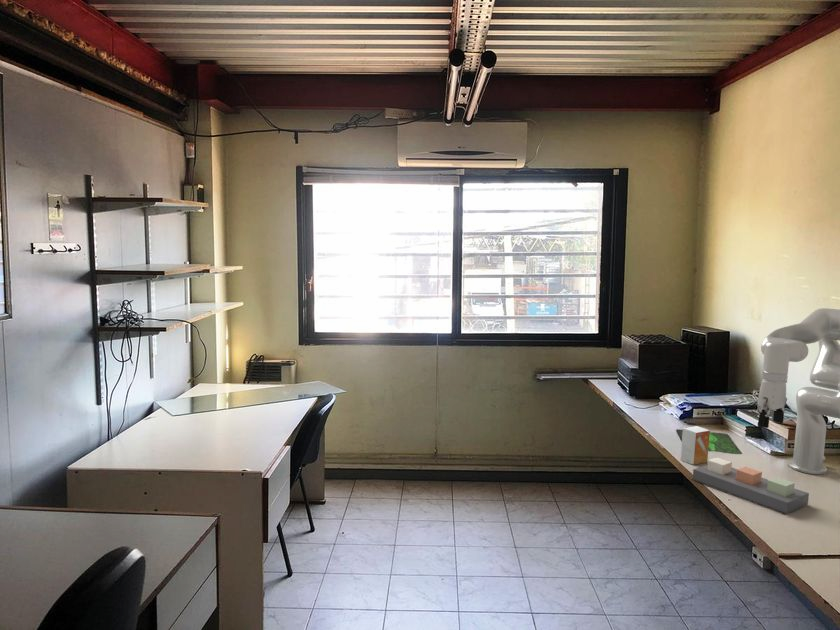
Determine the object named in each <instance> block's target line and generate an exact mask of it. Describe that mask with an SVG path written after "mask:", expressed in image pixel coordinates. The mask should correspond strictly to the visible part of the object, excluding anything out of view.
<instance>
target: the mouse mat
mask: <svg viewBox="0 0 840 630" xmlns="http://www.w3.org/2000/svg"><path fill="white" fill-rule="evenodd" d="M675 432H676V434H677V436H678V437H679V440H680V441H681V442H682V434H683V429H679V428H677V429H675ZM708 452H716V453H722V454H730V455H742V454H743V453H742V451H741V450H740V449H739V447H738V446H737V445H736V443H735V442H734V441H733V439H732V438H731V436H730V435H729V434H728V433H723V432H714V431H710V436H709V448H708Z"/></svg>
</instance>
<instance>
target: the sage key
mask: <svg viewBox="0 0 840 630" xmlns="http://www.w3.org/2000/svg"><path fill="white" fill-rule="evenodd" d="M794 488H795V482H793V481H790V480H788V479H784V478H782V477H778V476H775V477H773V478H770V479H768V487H767V491H769V492H772V493H775V494H778V495H781V496H784V497H787V496H790V495H792V494H794Z"/></svg>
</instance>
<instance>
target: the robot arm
mask: <svg viewBox="0 0 840 630" xmlns="http://www.w3.org/2000/svg"><path fill="white" fill-rule="evenodd" d="M839 341H840V309H836V308H828V307H826V308H818V309H815V310H814V311H813V312H811V313H810V314H809V315H808V316H806V318H804V319H803V320H802V321H801V322H799V323H795V324H792V325H787V326H783V327H780V328H777V329H774V330H772V332H770V333H769V334H767V336H766V337H765V338H764V339H763V340H762V342H761V346H760V352H761V354H762V355H763V365H762V374H761V384H760V387H759V392H758V400H757V412H758V426H759V427H762V428H765V429H768V428H769V426H770V425H769V424H770V412H771V411H773V416H772V422H774V423H779V424H784V417H785V411H786V406H787V400H788V398H787V383H788V377H789V376H788V375H789V365H790V362H791V363H798V362H802V361H804V360H805V359H806V358H807V357H808V355H809V347H808V345H809V344H815V343H817V342H818V347H819V349H818V350H819V351H818V353H817V357H816V359H815V362H814V363H813V365H812V368H811V371H810V375H809V381H810V383H811V384H812V385H813V386H804V387H801V388H800V389H798V391H797V392H796V395H795V402H796V403H795V405H796V424H795V425H796V427H795V436H794V445H793V446H794V448H793V455H792V459H790V460H788V462H787V465H788V467H789V468H791V469H793V470H795V471H797V472H801V473H805V474H810V475H824V474H827V472H828V468H827V467H826V466H824V464H823V463H824V461H825V460H826V456H825V455H824V454H825V447H826V437H827V436H826V435H827V423H826V420H825V418H824V417H823V416H825V417H829V418H834V419H840V343H839ZM814 386H816V387H814ZM833 390H834V391H833Z"/></svg>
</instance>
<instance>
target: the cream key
mask: <svg viewBox="0 0 840 630" xmlns="http://www.w3.org/2000/svg"><path fill="white" fill-rule="evenodd" d="M707 465H708V466H707V470H709V471H712V472H715V473H718V474H721V475H725V474H727V473H730V472H731V467H732V461H729V460H727V459H723V458H720V457H718V456H717V457H714V458H710V459H707ZM732 468H733V467H732Z"/></svg>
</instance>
